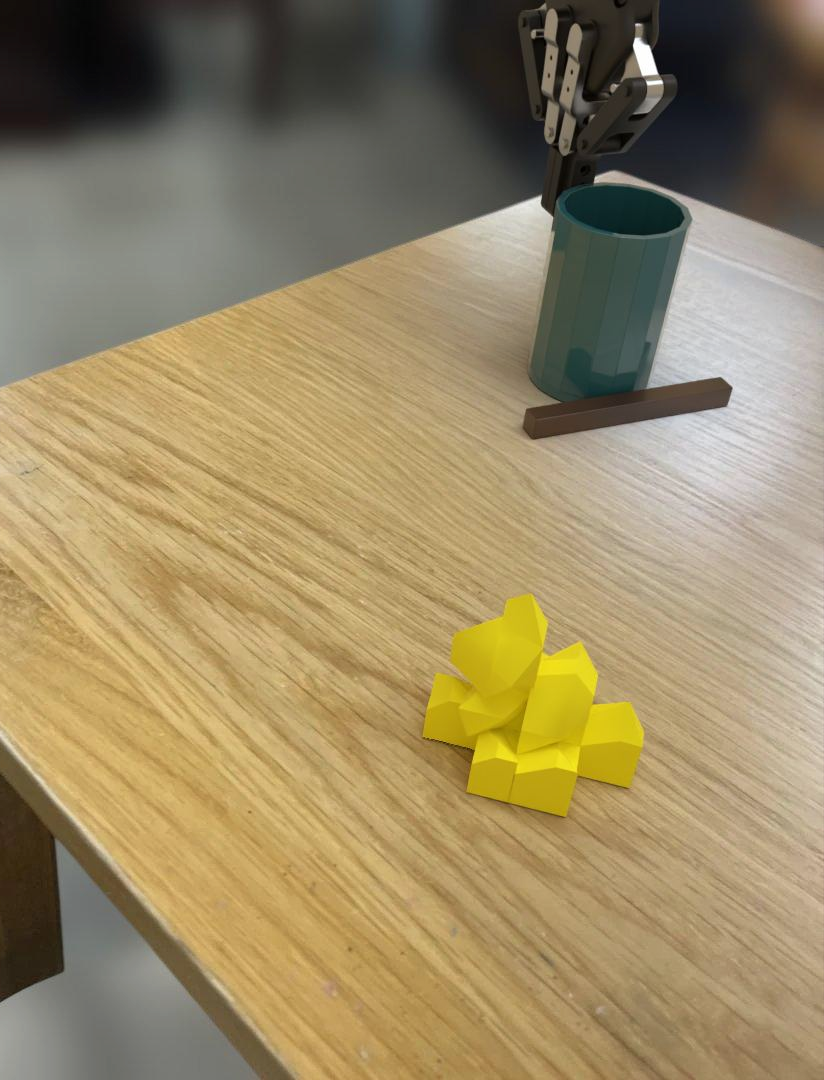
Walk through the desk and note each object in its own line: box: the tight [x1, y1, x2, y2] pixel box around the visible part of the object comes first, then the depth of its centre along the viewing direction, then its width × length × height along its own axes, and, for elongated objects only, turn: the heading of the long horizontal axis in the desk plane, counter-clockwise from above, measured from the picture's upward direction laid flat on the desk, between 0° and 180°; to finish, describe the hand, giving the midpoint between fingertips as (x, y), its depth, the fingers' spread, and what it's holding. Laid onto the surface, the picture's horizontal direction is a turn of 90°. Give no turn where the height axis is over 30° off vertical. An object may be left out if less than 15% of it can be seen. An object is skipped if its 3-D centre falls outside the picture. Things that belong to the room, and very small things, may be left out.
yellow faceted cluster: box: [422, 592, 645, 818], centre depth 45 cm, size 6×8×8 cm
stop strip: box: [522, 376, 734, 440], centre depth 66 cm, size 12×1×1 cm, turn 108°
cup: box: [527, 181, 694, 403], centre depth 66 cm, size 7×7×10 cm
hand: (562, 212), depth 69 cm, fingers closed
